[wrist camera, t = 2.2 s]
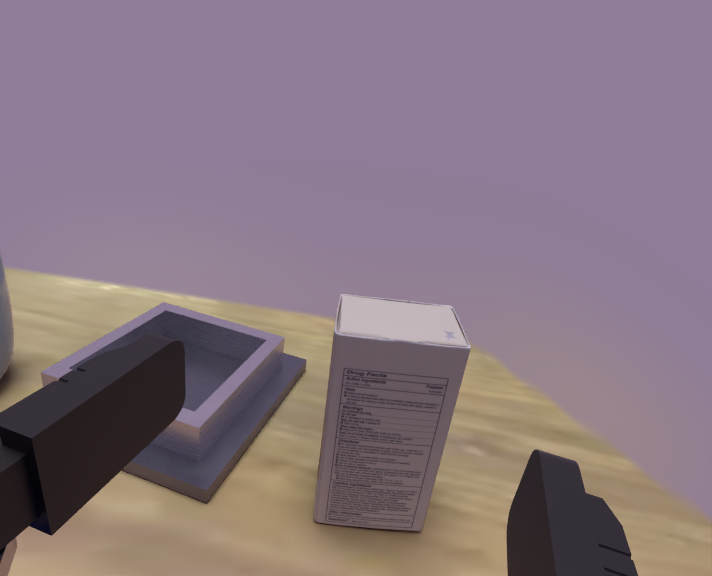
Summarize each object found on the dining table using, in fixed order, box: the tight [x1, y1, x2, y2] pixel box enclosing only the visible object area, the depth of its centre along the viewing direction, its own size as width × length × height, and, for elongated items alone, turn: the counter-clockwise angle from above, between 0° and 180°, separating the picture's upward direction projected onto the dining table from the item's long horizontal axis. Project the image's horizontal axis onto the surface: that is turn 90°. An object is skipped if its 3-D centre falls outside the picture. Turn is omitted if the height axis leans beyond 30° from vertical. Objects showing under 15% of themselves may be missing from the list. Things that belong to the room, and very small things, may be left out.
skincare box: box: [313, 294, 471, 531], centre depth 23 cm, size 6×4×12 cm
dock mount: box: [41, 302, 306, 503], centre depth 31 cm, size 14×14×4 cm
